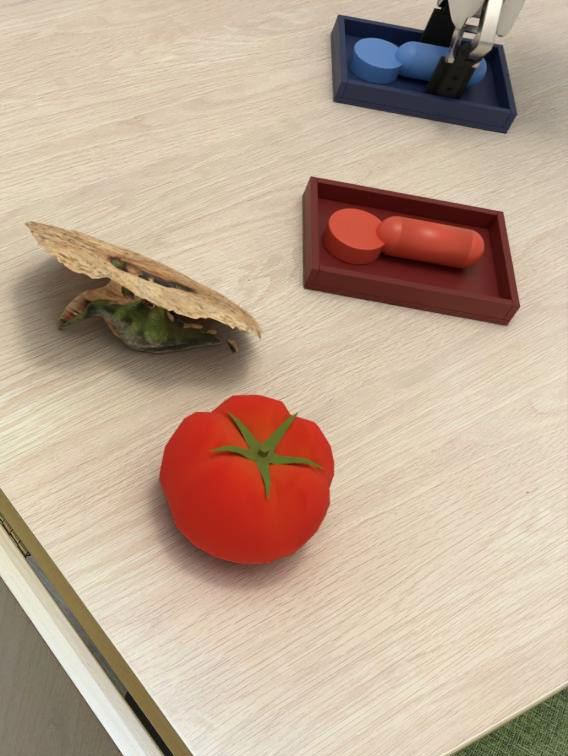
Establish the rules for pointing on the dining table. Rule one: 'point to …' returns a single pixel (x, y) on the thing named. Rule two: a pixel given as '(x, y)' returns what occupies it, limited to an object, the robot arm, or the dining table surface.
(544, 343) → the dining table surface
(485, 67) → the blue spoon
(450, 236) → the red spoon
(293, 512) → the tomato
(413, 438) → the dining table surface
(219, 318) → the sandwich
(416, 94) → the blue tray
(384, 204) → the red tray
